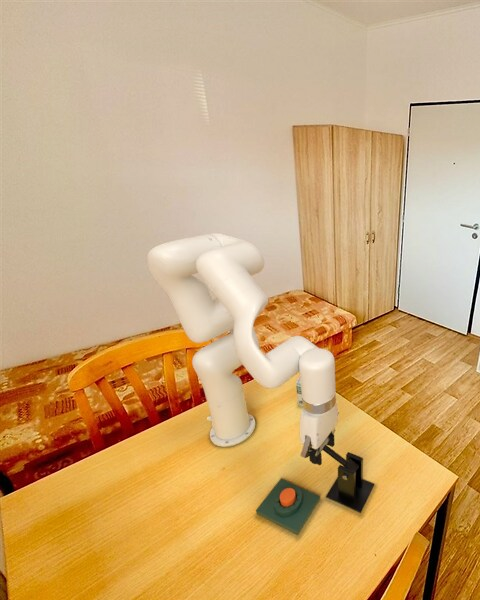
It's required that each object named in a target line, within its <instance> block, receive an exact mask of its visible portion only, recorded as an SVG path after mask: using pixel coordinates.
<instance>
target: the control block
mask: <svg viewBox="0 0 480 600" xmlns="http://www.w3.org/2000/svg"><path fill="white" fill-rule="evenodd" d="M287 488H292V489H294V490H295V494H296V500H295V502H294V503H293V504H292V505H291V506H289V507H284V506H282V505H281V503H280V494H281V492H282V491H283V490H285V489H287ZM320 501H321V495H318V494H316V493H315V492H312V491H310V490H308V489H305V488H303V487H301V486H300V485H297V484H295V483H293V482H290V481H288V480H286V479H284V478H282V477H281V478H280V479H279V481H277V482H276V484H275V486H273V488H272V489H271V490H270V492H269V493H268V494H267V496H266V497H265V498H264V499H263V500H262V502H261V503H260V505H259V506H258V507H257V508H256V510H255V513H256V515H258V516H260V517H262V518H264V519H266V520H268V521H269V522H272V523H273V524H275V525H277V526H278V527H281V528H283V529H285V530H287V531H288V532H290V533H292V534H295V535H296V536H299V535H300V533H301V532H302V530H303V528H304V526H305V525H306V523H307V521H308V520H309V518H310V517H311V515H312V514H313V512H314V510H315V509H316V507H317V505H318V504H319V503H320Z"/></svg>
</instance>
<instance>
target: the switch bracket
mask: <svg viewBox="0 0 480 600" xmlns="http://www.w3.org/2000/svg"><path fill="white" fill-rule="evenodd" d="M349 459H351V460H353V461H354V462H355V463H357V464H358V465H359V466H358V468H357V470H356V471H354V470H351V469H349V468H347V467H344V466H343V465H342V464H339V465H338V467H337V477H336V479H335V481H334V482H333V483H332V486H331V487H330V489H329V490H328V493H327V494H326V496H325V498H327V499H329V500H331V501H333V502H335V503H337V504H340V505H342V506H344V507H347V508H348V509H351V510H353V511H355V512H357V513H359V514H362V512H363V510H364V508H365V506H366V503H367V501H368V499H369V497H370V495H371V493H372V492H373V489H374V487H375V483H373V482H371V481H368V480H366V479H364V457H362V456H359V455H357V454H354V453H353V452H349V451H347V452H346V454H345V460H347V461H349Z"/></svg>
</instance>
